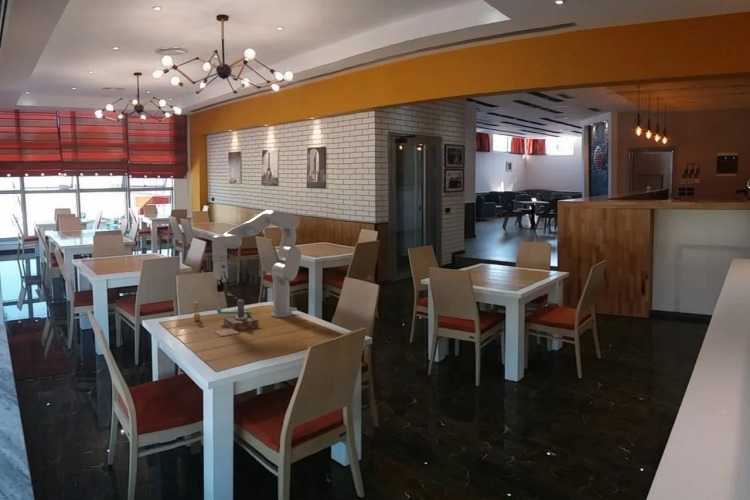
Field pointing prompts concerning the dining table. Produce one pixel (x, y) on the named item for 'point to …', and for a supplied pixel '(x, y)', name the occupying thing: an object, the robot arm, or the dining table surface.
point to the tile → (226, 332)
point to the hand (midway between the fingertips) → (220, 291)
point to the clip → (231, 312)
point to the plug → (240, 311)
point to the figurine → (196, 316)
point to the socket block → (241, 323)
